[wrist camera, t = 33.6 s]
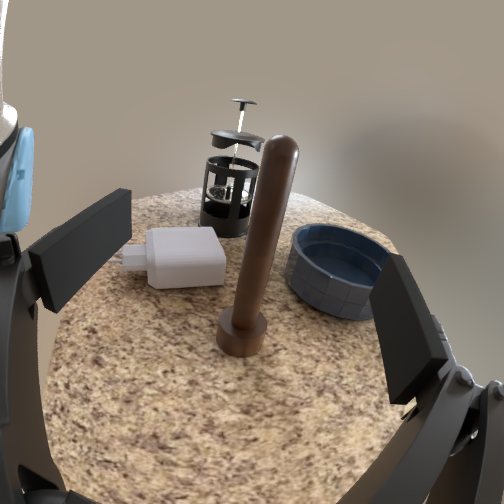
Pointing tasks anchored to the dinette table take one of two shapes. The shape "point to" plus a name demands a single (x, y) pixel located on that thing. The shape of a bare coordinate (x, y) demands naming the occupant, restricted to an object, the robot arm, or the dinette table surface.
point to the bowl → (334, 269)
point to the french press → (225, 196)
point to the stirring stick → (259, 250)
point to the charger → (177, 257)
